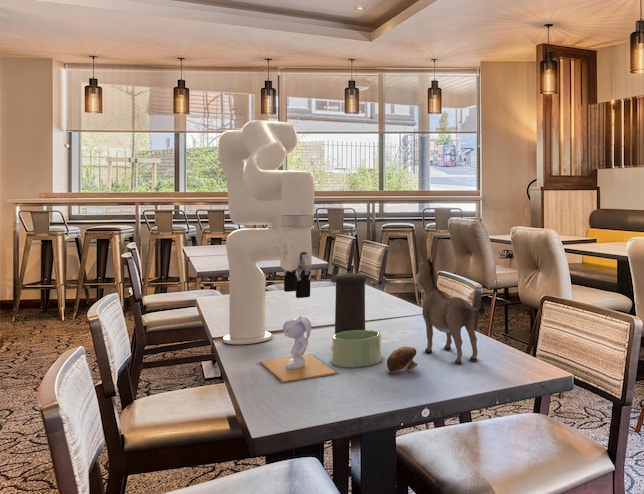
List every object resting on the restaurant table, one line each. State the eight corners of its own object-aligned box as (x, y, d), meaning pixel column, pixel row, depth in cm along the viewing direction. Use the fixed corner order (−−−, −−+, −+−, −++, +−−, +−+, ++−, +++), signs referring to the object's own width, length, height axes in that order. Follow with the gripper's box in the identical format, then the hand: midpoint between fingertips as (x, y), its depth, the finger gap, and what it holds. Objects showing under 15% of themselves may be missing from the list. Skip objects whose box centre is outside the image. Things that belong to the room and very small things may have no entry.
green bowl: (326, 359, 155) (326, 333, 156) (369, 353, 162) (369, 327, 162) (342, 370, 146) (342, 342, 146) (388, 362, 152) (388, 336, 152)
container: (370, 343, 173) (370, 271, 173) (360, 351, 164) (360, 275, 164) (340, 342, 173) (340, 271, 174) (328, 350, 165) (328, 275, 165)
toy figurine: (284, 363, 150) (284, 313, 151) (311, 361, 152) (311, 312, 152) (281, 371, 144) (281, 319, 144) (310, 369, 145) (310, 317, 145)
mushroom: (430, 355, 147) (414, 334, 146) (416, 376, 139) (398, 355, 139) (407, 367, 150) (391, 347, 149) (392, 388, 143) (375, 367, 142)
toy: (429, 340, 176) (429, 234, 176) (499, 367, 148) (499, 241, 149) (403, 344, 171) (403, 235, 171) (471, 372, 143) (471, 242, 144)
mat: (260, 362, 153) (260, 361, 153) (309, 355, 159) (309, 354, 159) (283, 382, 136) (283, 380, 136) (336, 373, 143) (336, 372, 143)
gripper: (271, 221, 153) (271, 290, 153) (292, 225, 139) (291, 301, 139) (302, 220, 157) (301, 287, 158) (325, 224, 143) (324, 298, 143)
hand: (296, 294), depth 148 cm, fingers open, 9 cm apart
